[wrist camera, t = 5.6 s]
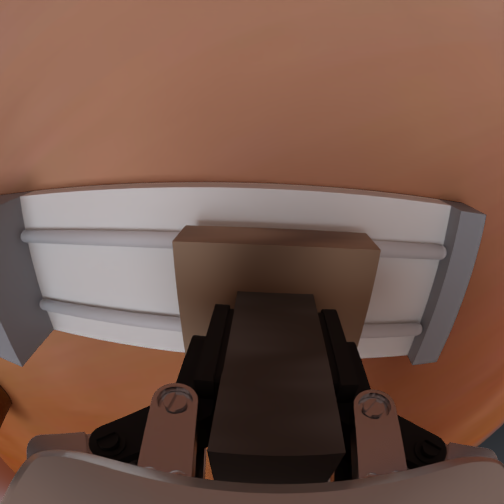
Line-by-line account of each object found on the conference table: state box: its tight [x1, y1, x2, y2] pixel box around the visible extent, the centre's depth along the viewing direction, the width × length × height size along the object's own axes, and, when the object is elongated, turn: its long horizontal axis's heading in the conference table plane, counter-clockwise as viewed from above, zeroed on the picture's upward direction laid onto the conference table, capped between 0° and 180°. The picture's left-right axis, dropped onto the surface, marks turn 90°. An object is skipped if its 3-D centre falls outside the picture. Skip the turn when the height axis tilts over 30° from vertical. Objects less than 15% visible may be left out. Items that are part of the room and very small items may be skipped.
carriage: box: [172, 225, 381, 484], centre depth 10 cm, size 8×7×9 cm
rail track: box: [0, 182, 486, 367], centre depth 14 cm, size 32×10×6 cm, turn 89°
